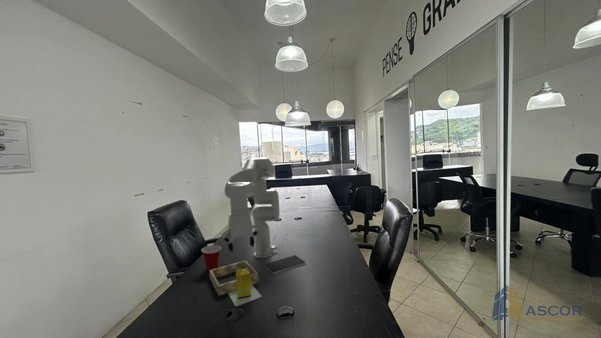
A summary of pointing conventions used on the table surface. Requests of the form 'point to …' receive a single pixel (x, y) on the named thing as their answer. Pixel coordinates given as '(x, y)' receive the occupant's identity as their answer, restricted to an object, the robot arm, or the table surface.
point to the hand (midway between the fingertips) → (241, 248)
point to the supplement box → (243, 283)
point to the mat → (237, 302)
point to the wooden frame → (227, 270)
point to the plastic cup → (211, 256)
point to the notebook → (284, 264)
